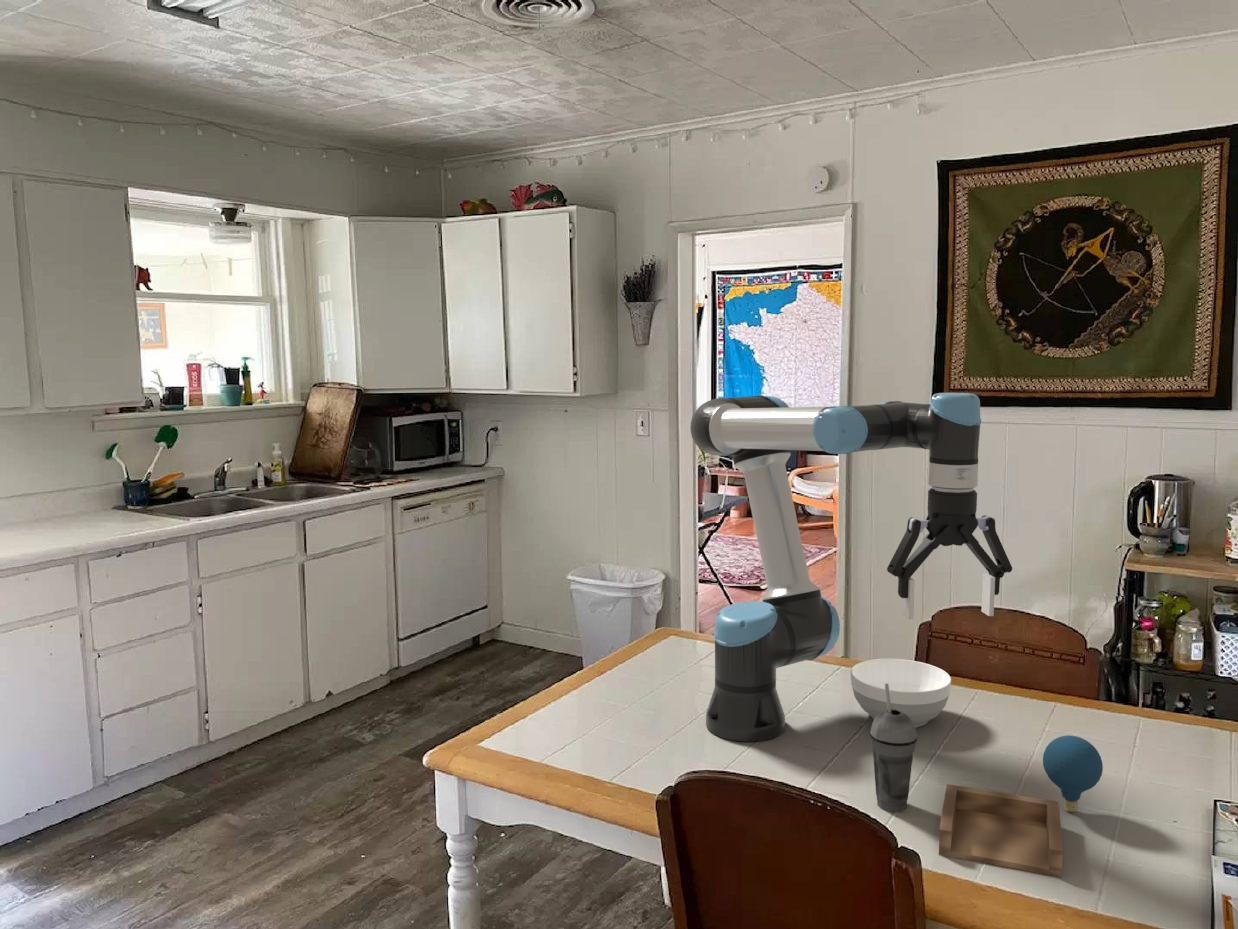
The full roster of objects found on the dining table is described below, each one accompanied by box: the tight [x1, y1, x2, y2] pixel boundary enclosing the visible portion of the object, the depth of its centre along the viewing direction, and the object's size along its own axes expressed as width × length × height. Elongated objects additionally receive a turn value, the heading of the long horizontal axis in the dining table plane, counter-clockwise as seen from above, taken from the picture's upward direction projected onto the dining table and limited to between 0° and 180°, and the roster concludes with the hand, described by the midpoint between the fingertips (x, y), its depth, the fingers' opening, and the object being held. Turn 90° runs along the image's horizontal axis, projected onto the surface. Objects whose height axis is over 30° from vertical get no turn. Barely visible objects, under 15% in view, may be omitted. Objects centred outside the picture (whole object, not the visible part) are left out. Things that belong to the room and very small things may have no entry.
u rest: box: [938, 783, 1064, 878], centre depth 138 cm, size 16×15×4 cm
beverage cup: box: [869, 683, 918, 813], centre depth 148 cm, size 7×7×20 cm
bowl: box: [850, 658, 952, 728], centre depth 183 cm, size 19×19×9 cm
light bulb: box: [1042, 735, 1104, 813], centre depth 145 cm, size 8×8×12 cm
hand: (947, 615), depth 155 cm, fingers open, 13 cm apart
